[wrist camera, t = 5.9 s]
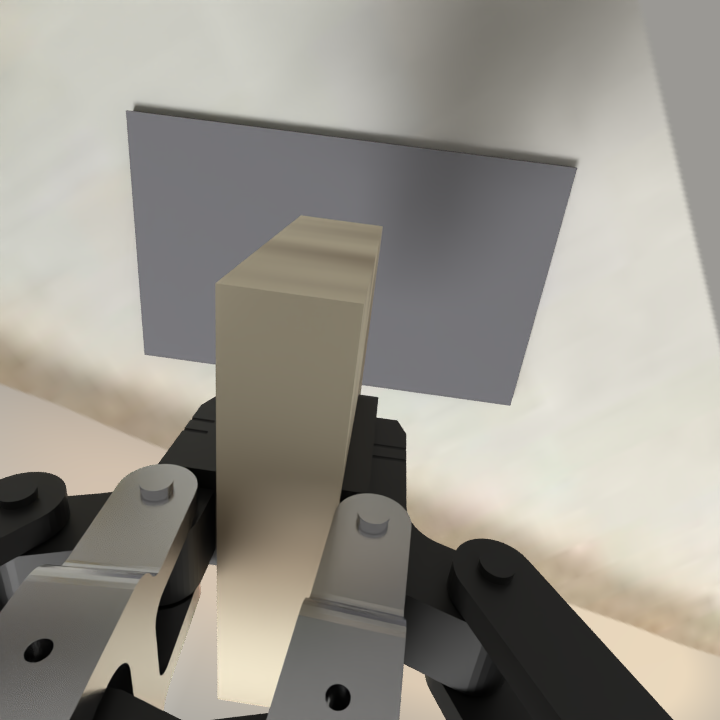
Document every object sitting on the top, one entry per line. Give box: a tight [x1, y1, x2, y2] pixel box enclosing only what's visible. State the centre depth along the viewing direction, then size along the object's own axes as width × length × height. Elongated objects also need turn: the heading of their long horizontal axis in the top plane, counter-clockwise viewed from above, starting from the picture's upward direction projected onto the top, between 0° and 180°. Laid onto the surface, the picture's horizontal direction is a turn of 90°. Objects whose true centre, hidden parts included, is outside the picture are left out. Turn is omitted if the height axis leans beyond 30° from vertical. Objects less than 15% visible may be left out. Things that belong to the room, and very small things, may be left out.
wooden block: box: [215, 215, 383, 707], centre depth 11 cm, size 9×2×6 cm, turn 173°
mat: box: [126, 111, 577, 405], centre depth 25 cm, size 20×12×1 cm, turn 83°
